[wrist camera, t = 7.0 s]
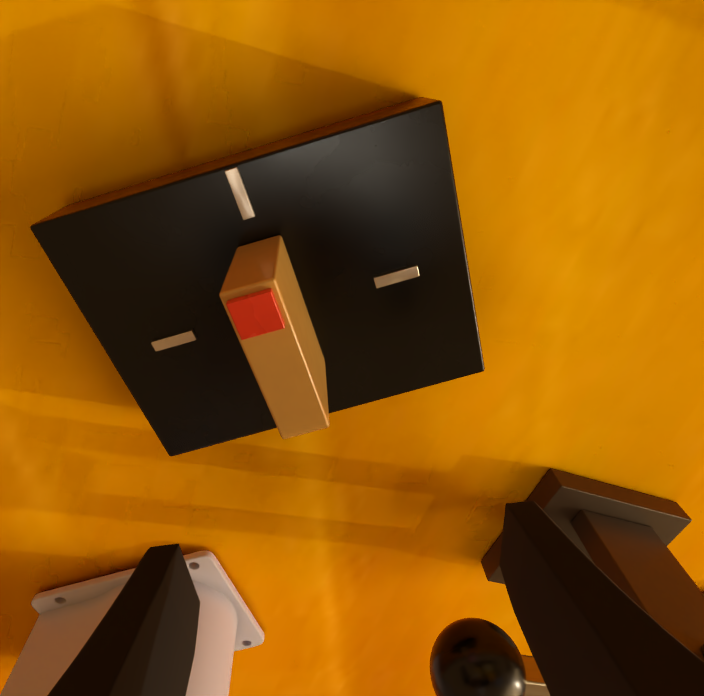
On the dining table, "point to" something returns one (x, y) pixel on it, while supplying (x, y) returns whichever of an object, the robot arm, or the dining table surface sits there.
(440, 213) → the plate
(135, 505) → the dining table surface
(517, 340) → the dining table surface
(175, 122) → the dining table surface
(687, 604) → the lever bracket
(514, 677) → the door lever
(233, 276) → the tan block red patch
